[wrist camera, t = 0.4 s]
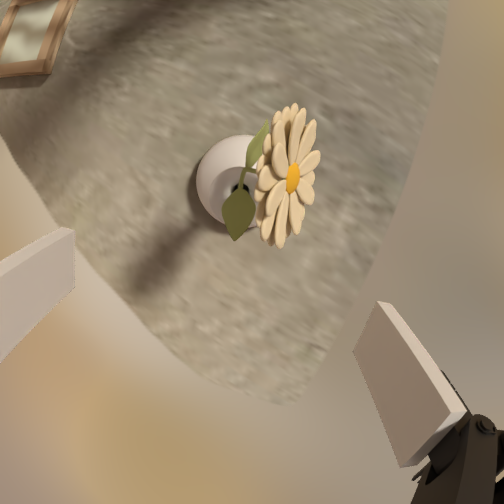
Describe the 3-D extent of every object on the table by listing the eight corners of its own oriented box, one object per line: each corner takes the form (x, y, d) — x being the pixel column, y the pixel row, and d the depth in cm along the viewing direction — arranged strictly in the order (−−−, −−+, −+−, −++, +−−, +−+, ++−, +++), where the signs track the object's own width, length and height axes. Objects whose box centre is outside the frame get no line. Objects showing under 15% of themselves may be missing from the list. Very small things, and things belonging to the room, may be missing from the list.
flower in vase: (260, 240, 40) (272, 371, 16) (183, 198, 38) (85, 277, 14) (312, 153, 36) (413, 166, 12) (232, 108, 34) (199, 36, 10)
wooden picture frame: (20, 1, 24) (13, -3, 22) (84, -14, 26) (77, -20, 23) (-8, 78, 29) (-17, 77, 27) (50, 73, 31) (41, 71, 28)
